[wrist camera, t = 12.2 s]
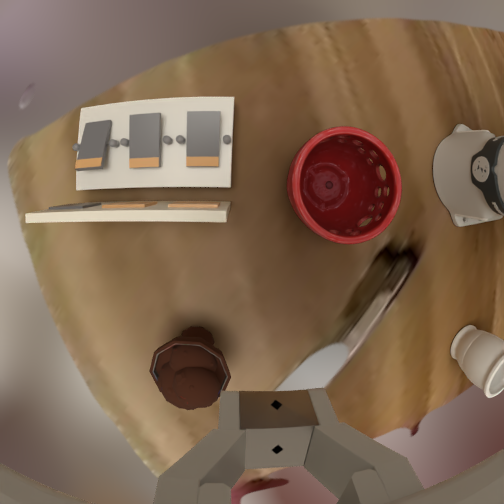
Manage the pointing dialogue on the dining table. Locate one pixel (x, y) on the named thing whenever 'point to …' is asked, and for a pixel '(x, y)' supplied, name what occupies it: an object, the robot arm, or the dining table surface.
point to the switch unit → (164, 176)
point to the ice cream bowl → (190, 370)
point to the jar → (480, 358)
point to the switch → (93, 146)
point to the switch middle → (145, 140)
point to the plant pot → (344, 185)
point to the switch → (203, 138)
